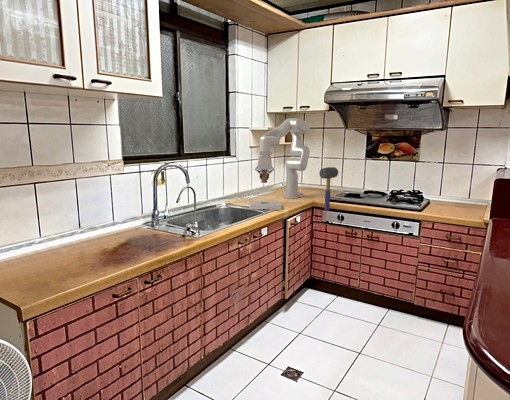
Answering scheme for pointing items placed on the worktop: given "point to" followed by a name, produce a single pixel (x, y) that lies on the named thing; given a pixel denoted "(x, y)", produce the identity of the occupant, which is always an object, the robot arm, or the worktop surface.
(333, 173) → the rubber mallet
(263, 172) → the walnut wedge
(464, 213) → the worktop surface
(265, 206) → the rosette plate
